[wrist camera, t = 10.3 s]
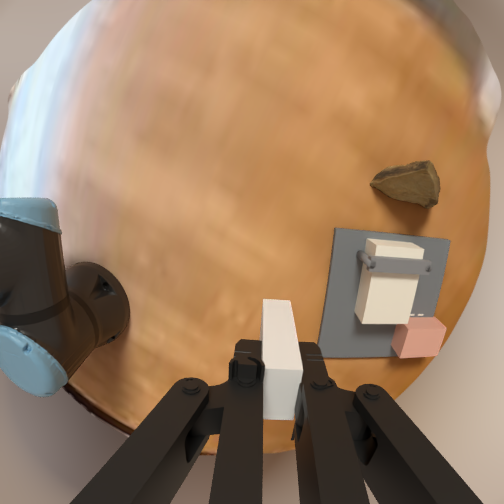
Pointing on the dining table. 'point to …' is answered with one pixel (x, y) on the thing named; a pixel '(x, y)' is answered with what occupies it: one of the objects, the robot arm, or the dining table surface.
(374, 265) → the clamped cream block
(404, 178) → the rock
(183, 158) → the dining table surface
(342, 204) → the dining table surface
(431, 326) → the stub
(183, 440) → the robot arm
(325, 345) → the mat
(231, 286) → the dining table surface
